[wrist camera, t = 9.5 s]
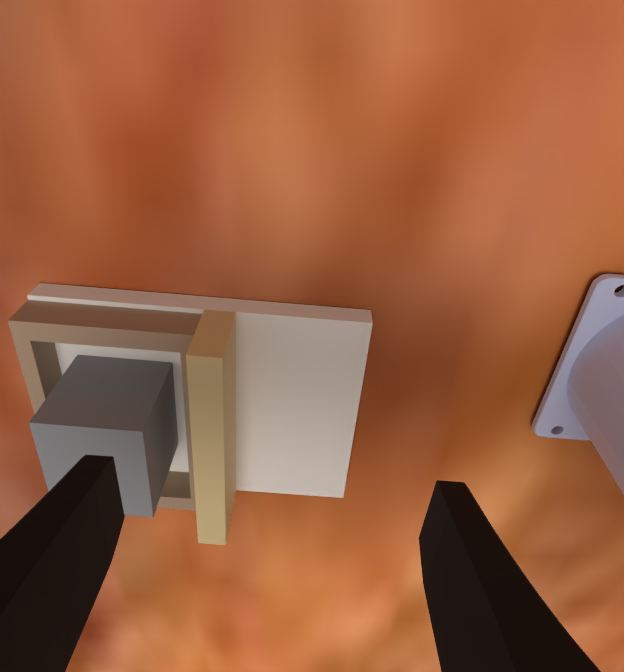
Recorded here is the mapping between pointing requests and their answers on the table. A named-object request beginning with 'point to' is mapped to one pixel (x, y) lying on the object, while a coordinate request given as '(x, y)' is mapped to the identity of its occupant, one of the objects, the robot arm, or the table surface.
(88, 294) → the door board
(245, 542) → the table surface
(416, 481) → the table surface
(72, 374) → the gray block
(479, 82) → the table surface
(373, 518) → the table surface
